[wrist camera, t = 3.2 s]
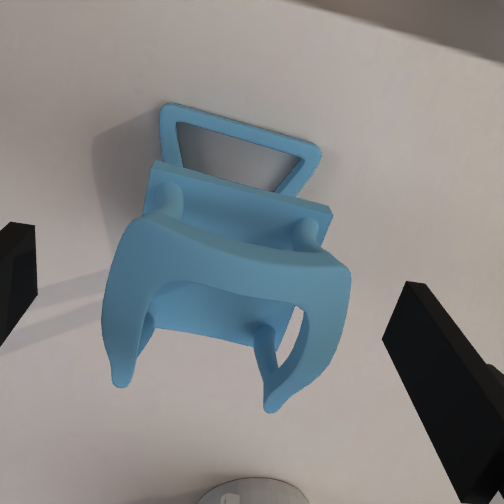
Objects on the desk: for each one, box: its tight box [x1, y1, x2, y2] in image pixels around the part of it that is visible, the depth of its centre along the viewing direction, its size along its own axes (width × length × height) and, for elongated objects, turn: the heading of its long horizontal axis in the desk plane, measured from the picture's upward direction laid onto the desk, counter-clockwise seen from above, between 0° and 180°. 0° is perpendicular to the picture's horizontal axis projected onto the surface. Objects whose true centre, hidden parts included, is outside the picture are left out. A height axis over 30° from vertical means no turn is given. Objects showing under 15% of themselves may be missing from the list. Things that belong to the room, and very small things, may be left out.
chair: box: [101, 103, 351, 413], centre depth 17 cm, size 8×8×12 cm
